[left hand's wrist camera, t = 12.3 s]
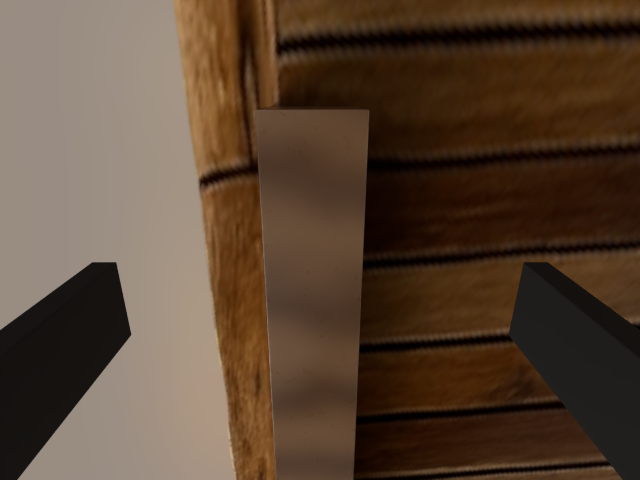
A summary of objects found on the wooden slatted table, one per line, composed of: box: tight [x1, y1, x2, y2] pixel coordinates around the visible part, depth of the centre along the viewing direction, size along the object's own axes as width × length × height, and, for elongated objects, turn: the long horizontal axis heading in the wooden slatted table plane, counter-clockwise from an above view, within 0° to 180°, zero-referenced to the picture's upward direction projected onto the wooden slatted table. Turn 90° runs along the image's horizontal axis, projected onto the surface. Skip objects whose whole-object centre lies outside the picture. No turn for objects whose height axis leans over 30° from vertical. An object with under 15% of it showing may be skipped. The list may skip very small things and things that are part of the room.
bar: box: [255, 106, 369, 480], centre depth 32 cm, size 49×6×8 cm, turn 0°
